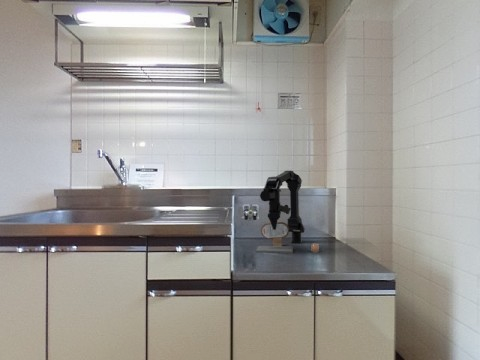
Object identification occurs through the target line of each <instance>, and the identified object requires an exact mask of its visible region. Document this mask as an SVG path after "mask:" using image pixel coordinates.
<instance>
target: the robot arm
mask: <svg viewBox="0 0 480 360" xmlns="http://www.w3.org/2000/svg"><path fill="white" fill-rule="evenodd" d="M284 182H285V183H286V185H287V188H288V191H289V194H290V195H289V198H290V207H289V205H288V204H284V205H283V204H281V201H280V200H281V199H280V197H281V193H280V192H282V190H281V187H282V186H283V183H284ZM302 182H303V180H302V178H301V177H300V175H299V174H297V173H295V172H294V171H293V170H284V171H283V172H282V173H280V174H277V176H270V177H267V179H266V181H265V184H264V187H263V190H262V191H261V192H260V195H259V197H260V200H261V201H262V202H268V213H267V218H268V220H269V223H271V225H272V227H273V230H276V225H277V222H278V220H280V218H281V214H282V213H285V214H286V215H289V214H290V216H289V218H287V223H286V224H287V225H288V227H289V233H291V240H290V243H291V244H303V241H302V234H304V233H305V226H304V225H303V221H302V218H301V217H300V212H299V209H300V208H299V207H300V206H299V202H300V201H299V191H300V189H301V186H302Z"/></svg>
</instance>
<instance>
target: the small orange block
mask: <svg viewBox="0 0 480 360" xmlns="http://www.w3.org/2000/svg"><path fill="white" fill-rule="evenodd" d="M310 252H311V253H319V252H320V244H319V243H313V242H312V243H310Z"/></svg>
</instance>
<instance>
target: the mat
mask: <svg viewBox="0 0 480 360" xmlns="http://www.w3.org/2000/svg"><path fill="white" fill-rule="evenodd" d="M255 253H271V254H274V253H275V254H293V253H294V247H293V246H285V245H282V246H273V245H272V246H270V245H258V246H257V247H256V250H255Z"/></svg>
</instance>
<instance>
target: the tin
mask: <svg viewBox="0 0 480 360" xmlns="http://www.w3.org/2000/svg"><path fill="white" fill-rule="evenodd" d="M287 224H288V223H285V222H283V221H281V222H280V221H279V222H278V221H277V225H276V230H273V227H272V225H271V222H267V223H264V224H263V225H262V227H261V229H260V232H261V236H263V237H264V238H265V239H267V240H269V239H270V240H271V239H272V240H273V238H282V239H283V238H286V237H288V235H289V233H290V232H289V227H288V225H287Z"/></svg>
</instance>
